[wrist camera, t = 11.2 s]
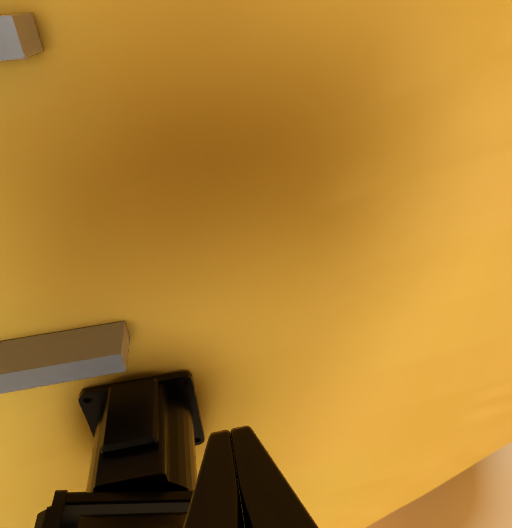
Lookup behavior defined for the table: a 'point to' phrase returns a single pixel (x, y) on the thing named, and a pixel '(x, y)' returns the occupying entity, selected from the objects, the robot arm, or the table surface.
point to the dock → (65, 342)
